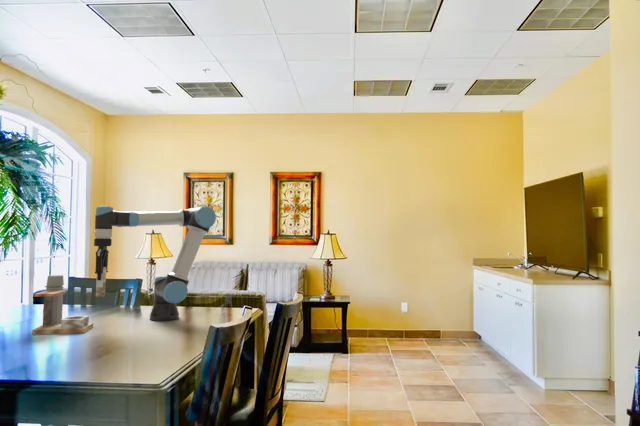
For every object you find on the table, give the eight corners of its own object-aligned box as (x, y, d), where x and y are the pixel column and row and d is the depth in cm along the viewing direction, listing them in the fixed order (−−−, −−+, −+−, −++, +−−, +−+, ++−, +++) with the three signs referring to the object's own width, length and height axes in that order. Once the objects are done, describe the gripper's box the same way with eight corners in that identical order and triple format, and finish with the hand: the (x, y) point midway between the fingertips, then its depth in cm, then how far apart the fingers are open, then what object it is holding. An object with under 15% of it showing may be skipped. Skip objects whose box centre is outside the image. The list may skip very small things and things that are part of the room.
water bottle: (65, 325, 216) (67, 275, 217) (54, 328, 208) (56, 276, 209) (48, 324, 216) (51, 274, 218) (36, 327, 209) (39, 276, 210)
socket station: (93, 327, 212) (94, 290, 213) (84, 332, 199) (86, 293, 200) (43, 328, 207) (45, 290, 208) (31, 334, 195) (33, 294, 196)
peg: (105, 295, 208) (107, 266, 209) (103, 296, 204) (105, 267, 205) (97, 295, 207) (98, 266, 208) (94, 297, 204) (96, 267, 204)
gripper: (99, 237, 215) (97, 284, 214) (89, 237, 198) (86, 288, 197) (115, 238, 217) (113, 284, 215) (106, 238, 200) (104, 288, 199)
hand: (100, 286), depth 206 cm, fingers closed on peg, 4 cm apart
